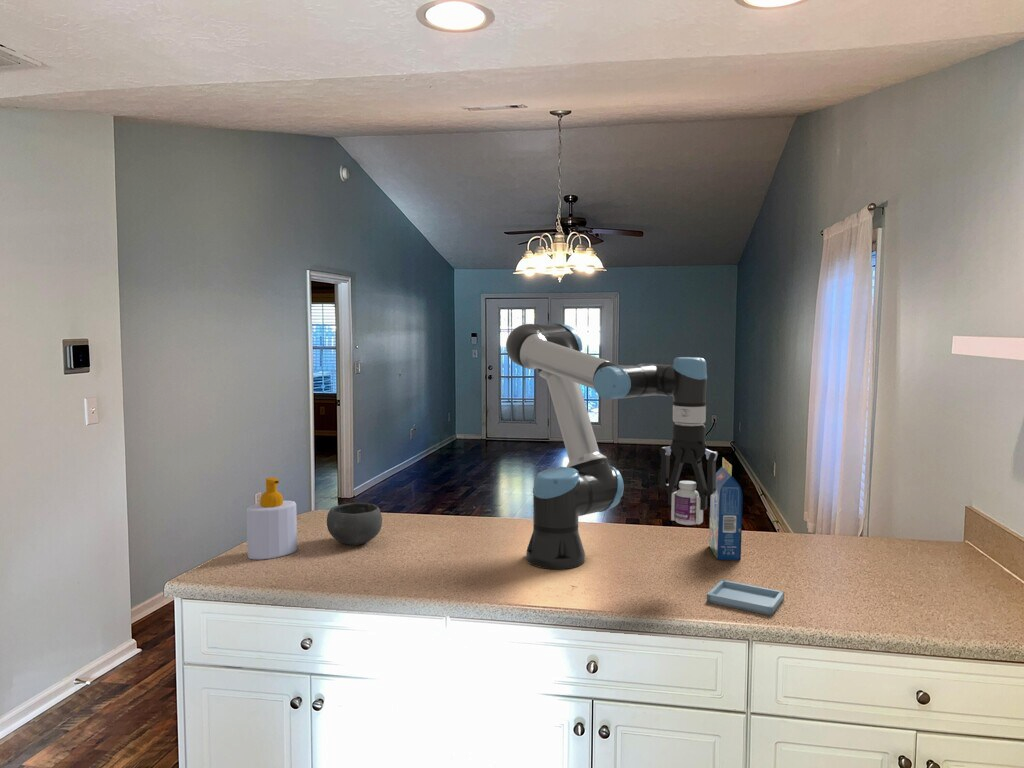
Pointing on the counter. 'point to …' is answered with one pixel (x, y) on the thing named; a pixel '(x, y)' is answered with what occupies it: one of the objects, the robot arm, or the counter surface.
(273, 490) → the soap bottle
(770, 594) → the tray
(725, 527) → the blue food package
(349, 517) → the bowl
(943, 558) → the counter surface
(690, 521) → the pill bottle
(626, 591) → the counter surface
